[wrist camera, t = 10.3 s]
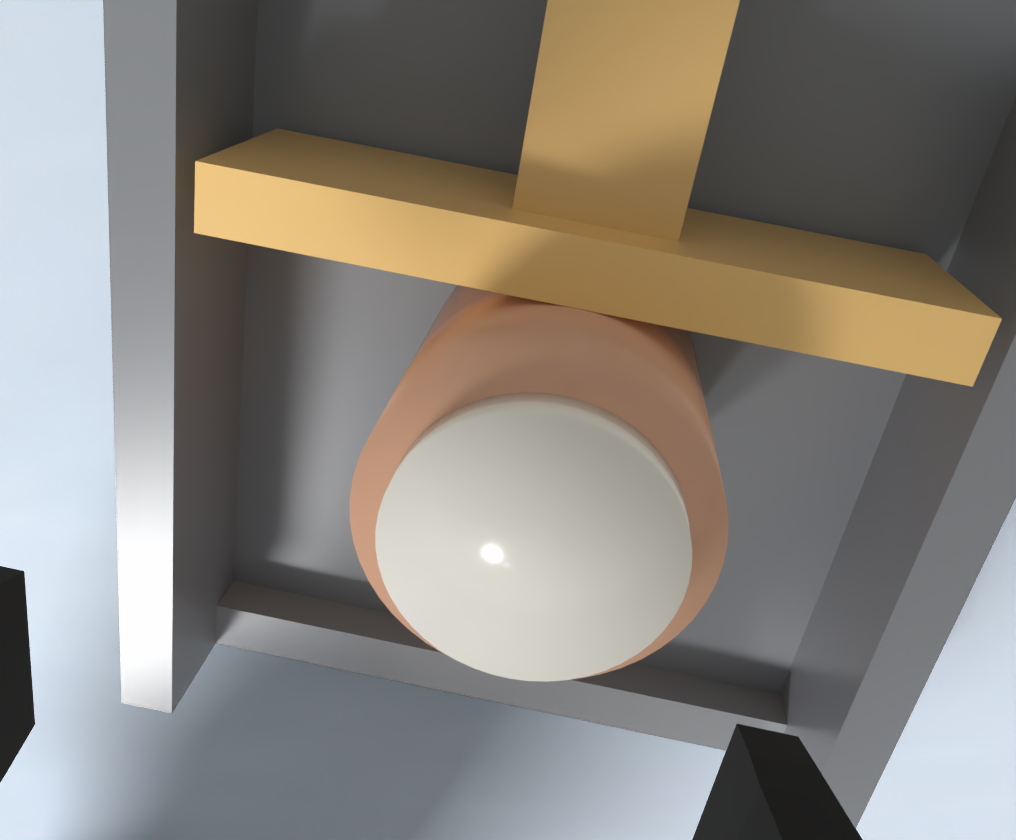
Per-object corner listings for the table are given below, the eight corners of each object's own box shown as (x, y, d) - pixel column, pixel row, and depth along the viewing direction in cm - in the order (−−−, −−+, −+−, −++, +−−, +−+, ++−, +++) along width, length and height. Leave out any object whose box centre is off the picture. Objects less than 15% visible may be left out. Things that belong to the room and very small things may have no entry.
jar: (665, 513, 18) (684, 738, 12) (415, 470, 18) (328, 674, 13) (725, 267, 16) (780, 412, 10) (439, 222, 16) (347, 340, 10)
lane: (807, 721, 20) (841, 856, 17) (197, 594, 21) (121, 702, 17) (1389, -667, 11) (1711, -943, 8) (228, -858, 11) (73, -1196, 8)
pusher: (904, 310, 15) (973, 386, 12) (273, 187, 16) (193, 233, 13) (1087, -171, 12) (1234, -222, 9) (301, -313, 13) (203, -405, 10)
